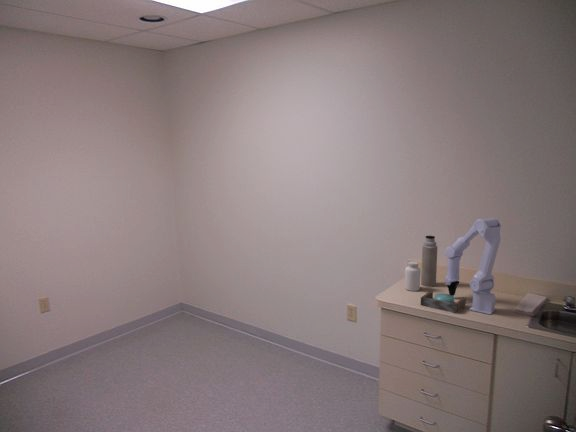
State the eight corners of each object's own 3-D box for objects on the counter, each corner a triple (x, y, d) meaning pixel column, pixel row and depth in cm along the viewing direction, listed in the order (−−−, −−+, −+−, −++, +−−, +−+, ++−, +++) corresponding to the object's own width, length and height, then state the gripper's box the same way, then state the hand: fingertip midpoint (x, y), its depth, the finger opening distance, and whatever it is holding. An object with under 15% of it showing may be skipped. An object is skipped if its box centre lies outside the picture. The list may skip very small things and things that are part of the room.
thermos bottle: (427, 281, 245) (428, 234, 240) (438, 284, 238) (440, 236, 234) (418, 284, 240) (419, 235, 236) (429, 287, 234) (431, 238, 229)
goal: (465, 305, 206) (465, 297, 206) (456, 313, 197) (457, 305, 196) (430, 298, 217) (430, 290, 217) (420, 305, 208) (420, 297, 207)
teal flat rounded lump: (454, 302, 211) (455, 295, 210) (452, 308, 203) (452, 300, 203) (436, 300, 215) (436, 292, 215) (432, 305, 207) (433, 298, 207)
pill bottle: (420, 291, 227) (421, 264, 225) (405, 291, 229) (405, 264, 227) (419, 287, 235) (419, 261, 233) (404, 286, 237) (404, 260, 234)
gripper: (450, 265, 223) (448, 289, 225) (440, 271, 212) (439, 297, 214) (463, 267, 218) (462, 292, 220) (454, 273, 207) (453, 300, 209)
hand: (452, 295), depth 217 cm, fingers closed
